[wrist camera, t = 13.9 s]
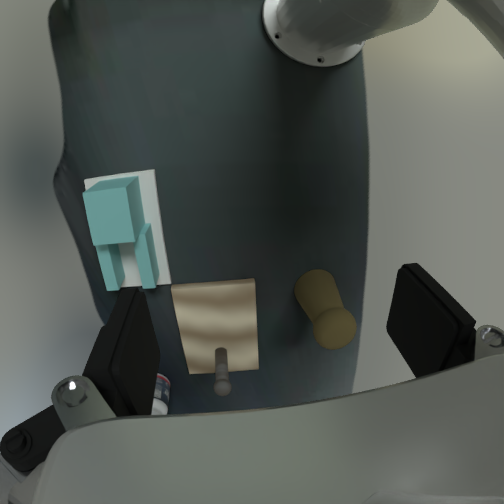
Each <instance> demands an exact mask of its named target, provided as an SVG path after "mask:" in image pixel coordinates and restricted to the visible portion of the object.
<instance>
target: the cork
mask: <svg viewBox="0 0 504 504" xmlns="http://www.w3.org/2000/svg"><path fill="white" fill-rule="evenodd" d="M294 294H295V297H296V299H297V301H298V302H299V304H300V305H301V307H302V308H303V310H304V311H305V313H306V314H307V316H308V317H309V319H310V320H311V322H312V323H313V334H314V337H315V339H316V341H317V342H318V343H319V344H320V345H321V346H322V347H324V348H327V349H332V350H335V349H340V348H342V347H344V346H346V345H347V344H349V343H350V342H351V340H352V339H353V338H354V336H355V333H356V327H357V326H356V322H355V319H354V317H353V316H352V314H351V313H350V312H349V311H347V310H346V309H344V306H343V304H342V301H341V298H340V295H339V292H338V289H337V286H336V283H335V280H334V277H333V276H332V275H331V274H330V273H329V272H327V271H325V270H321V269H316V270H311V271H308V272H306V273H305V274H303V275H302V276H301V277H300V278H299V279H298V280H297V282H296V284H295V287H294Z"/></svg>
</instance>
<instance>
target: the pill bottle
mask: <svg viewBox="0 0 504 504" xmlns="http://www.w3.org/2000/svg"><path fill="white" fill-rule="evenodd" d="M169 394H170V382H169V380H168V379H167V378H166V377H165V376H164V375H162V374H159V373H158V374H157V380H156V387H155V393H154V400H153V407H152V414H151V415H166V414H167V412H168V403H169Z"/></svg>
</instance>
